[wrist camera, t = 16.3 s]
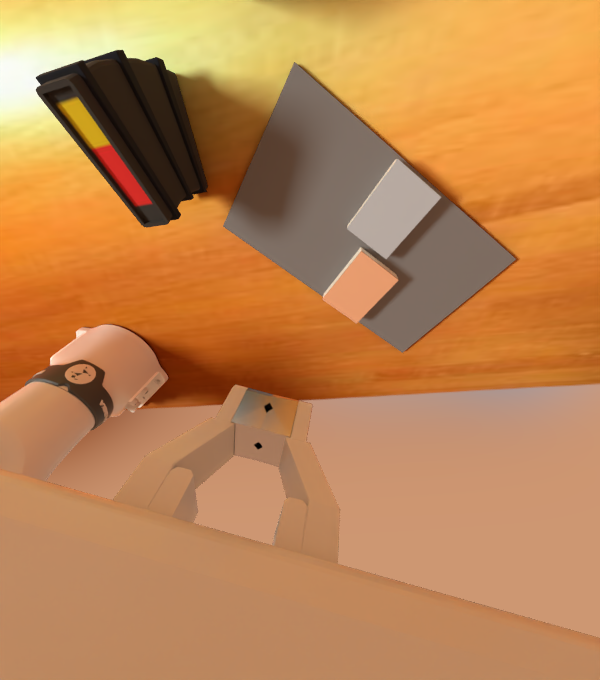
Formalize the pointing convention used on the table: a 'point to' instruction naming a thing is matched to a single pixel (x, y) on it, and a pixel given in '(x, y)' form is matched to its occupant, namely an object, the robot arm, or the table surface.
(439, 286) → the mat
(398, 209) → the light grey flat block
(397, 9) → the table surface
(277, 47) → the table surface
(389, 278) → the peach flat block
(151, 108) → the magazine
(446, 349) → the table surface
